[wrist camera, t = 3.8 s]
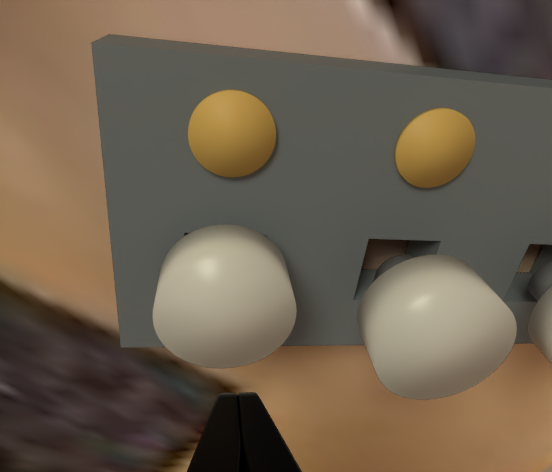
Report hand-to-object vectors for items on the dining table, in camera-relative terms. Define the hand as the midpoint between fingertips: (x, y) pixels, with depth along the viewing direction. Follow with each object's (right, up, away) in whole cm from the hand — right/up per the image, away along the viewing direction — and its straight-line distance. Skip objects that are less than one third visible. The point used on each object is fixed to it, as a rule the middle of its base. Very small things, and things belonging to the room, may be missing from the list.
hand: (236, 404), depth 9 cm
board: (+5, +5, +7) cm, 10 cm away
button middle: (+5, +2, +5) cm, 8 cm away
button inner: (-1, +3, +6) cm, 7 cm away
